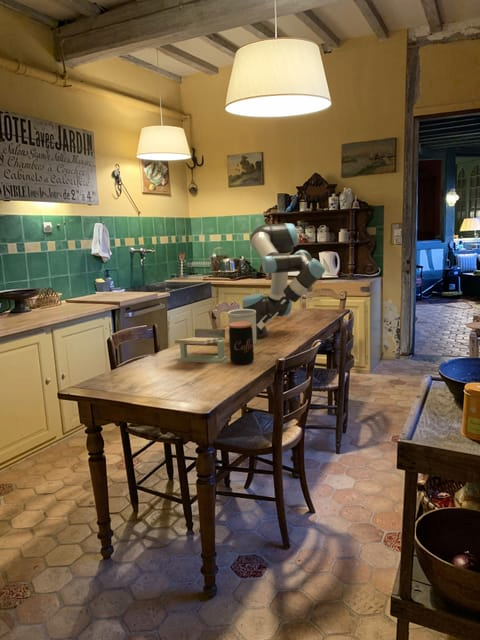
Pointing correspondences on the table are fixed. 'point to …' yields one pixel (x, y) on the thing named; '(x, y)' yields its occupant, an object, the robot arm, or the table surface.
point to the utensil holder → (244, 318)
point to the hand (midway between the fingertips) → (262, 323)
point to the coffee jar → (241, 343)
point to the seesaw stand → (203, 358)
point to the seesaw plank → (204, 337)
